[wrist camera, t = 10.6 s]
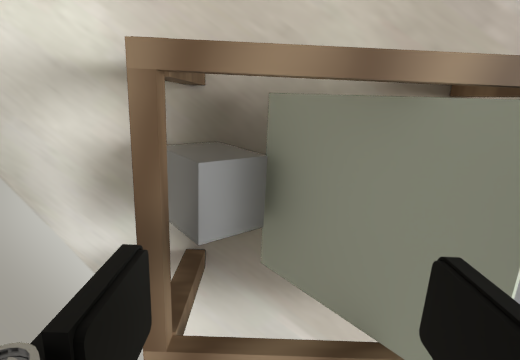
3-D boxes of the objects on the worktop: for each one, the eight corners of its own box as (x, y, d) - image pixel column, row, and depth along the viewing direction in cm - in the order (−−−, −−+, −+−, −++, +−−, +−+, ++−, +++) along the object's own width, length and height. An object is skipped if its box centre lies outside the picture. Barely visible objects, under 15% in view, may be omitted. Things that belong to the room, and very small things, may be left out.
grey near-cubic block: (198, 163, 17) (156, 145, 22) (198, 245, 19) (158, 213, 23) (267, 155, 20) (218, 141, 25) (263, 226, 22) (217, 201, 26)
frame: (475, 75, 24) (654, 56, 13) (434, 275, 28) (543, 385, 17) (183, 61, 23) (119, 30, 13) (186, 265, 28) (140, 372, 17)
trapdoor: (590, 104, 13) (566, 100, 10) (516, 353, 17) (480, 410, 13) (320, 96, 25) (269, 92, 22) (307, 245, 28) (260, 262, 25)
